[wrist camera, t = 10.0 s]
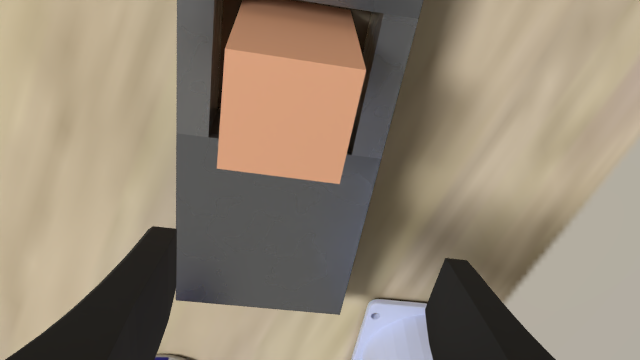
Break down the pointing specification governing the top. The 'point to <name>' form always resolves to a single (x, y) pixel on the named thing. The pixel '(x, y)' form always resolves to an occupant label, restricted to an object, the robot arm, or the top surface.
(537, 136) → the top surface
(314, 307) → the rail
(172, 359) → the energy drink
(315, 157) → the square block
